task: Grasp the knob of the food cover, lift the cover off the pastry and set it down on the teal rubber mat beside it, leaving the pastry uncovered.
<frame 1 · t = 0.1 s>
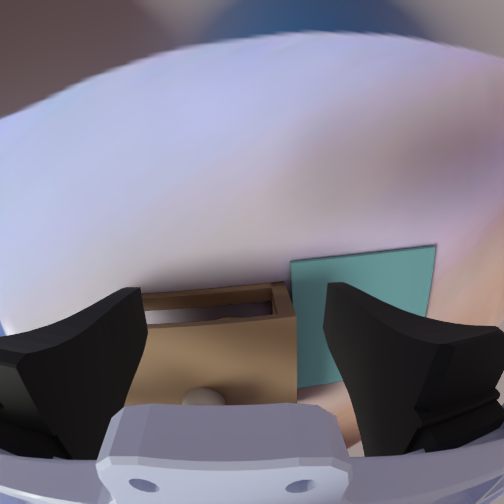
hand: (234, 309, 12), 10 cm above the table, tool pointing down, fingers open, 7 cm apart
mat: (364, 321, 24), on the table
cover: (207, 360, 24), on the table
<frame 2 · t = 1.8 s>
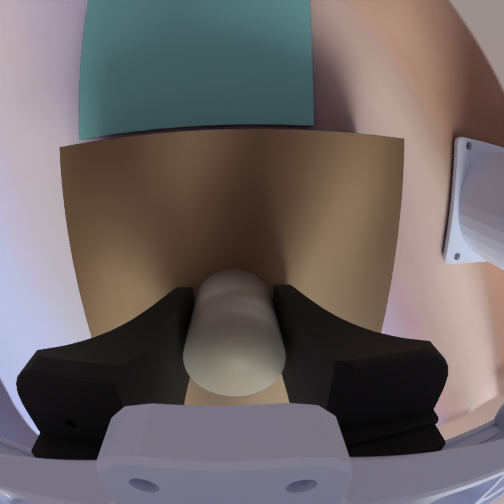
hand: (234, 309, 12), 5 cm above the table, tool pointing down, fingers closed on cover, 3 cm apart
mat: (191, 19, 12), on the table
cover: (234, 260, 17), on the table, touching gripper
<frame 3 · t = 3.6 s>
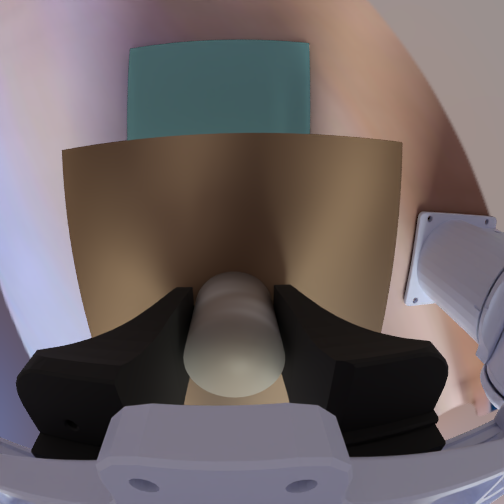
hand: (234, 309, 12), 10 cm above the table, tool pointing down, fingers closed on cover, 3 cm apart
mat: (217, 125, 19), on the table
cover: (234, 264, 17), point 5 cm above the table, touching gripper
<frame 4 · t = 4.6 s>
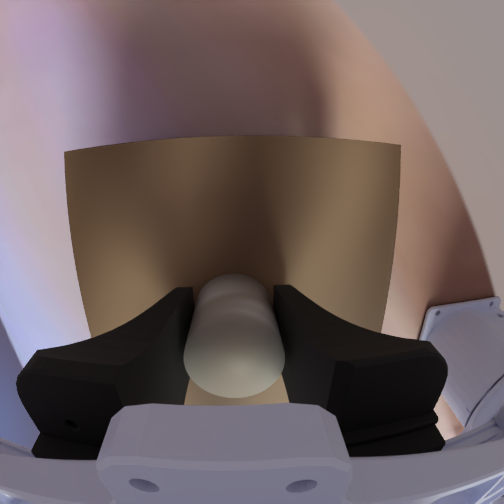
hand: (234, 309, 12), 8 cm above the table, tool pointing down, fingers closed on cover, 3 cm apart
cover: (234, 267, 17), point 3 cm above the table, touching gripper
when the fingers open (7 cm above the table, at t = 5.2 s): cover stays where it is, resting on mat.
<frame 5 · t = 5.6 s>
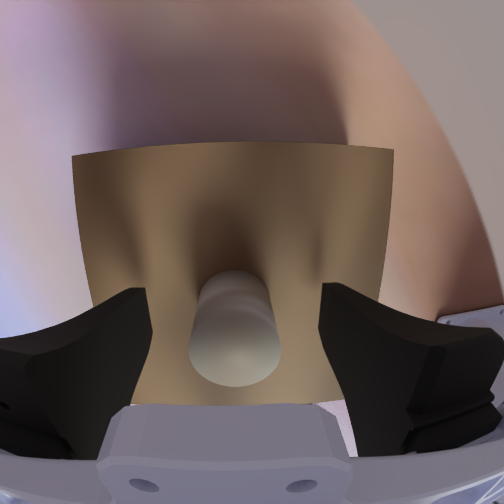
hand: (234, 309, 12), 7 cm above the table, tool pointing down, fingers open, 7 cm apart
cover: (234, 261, 18), resting on mat
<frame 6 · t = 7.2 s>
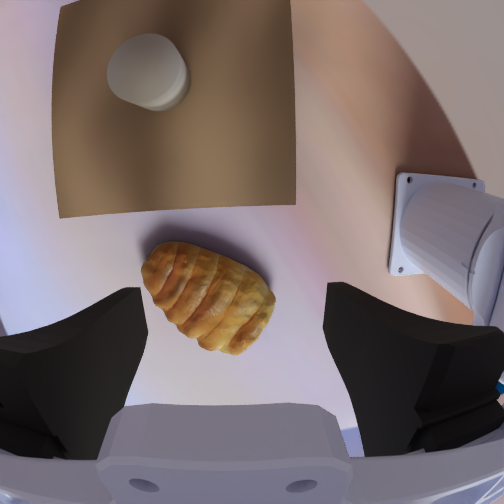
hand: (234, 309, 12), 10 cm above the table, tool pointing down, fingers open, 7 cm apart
pastry: (212, 292, 23), on the table
cover: (178, 97, 18), resting on mat
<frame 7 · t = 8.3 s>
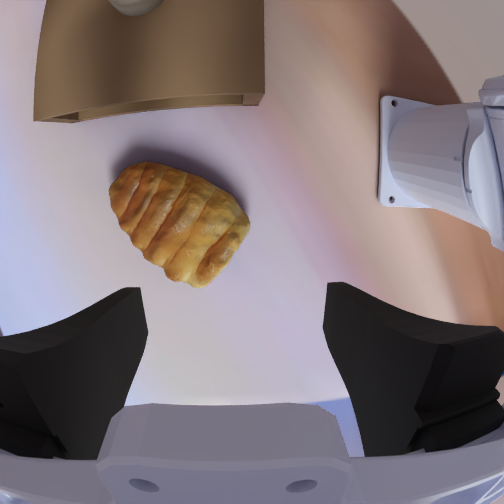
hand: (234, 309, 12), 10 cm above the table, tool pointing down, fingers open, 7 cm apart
pastry: (183, 220, 21), on the table
cover: (160, 23, 16), resting on mat
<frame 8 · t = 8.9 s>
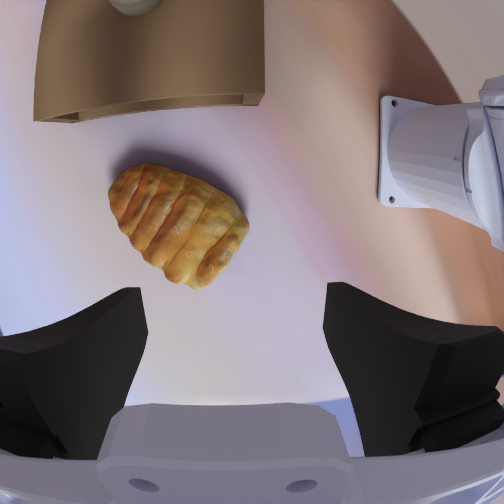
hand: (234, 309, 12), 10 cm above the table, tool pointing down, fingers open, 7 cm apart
pastry: (183, 222, 21), on the table
cover: (160, 23, 16), resting on mat
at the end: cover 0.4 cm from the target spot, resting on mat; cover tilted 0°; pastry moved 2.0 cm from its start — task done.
